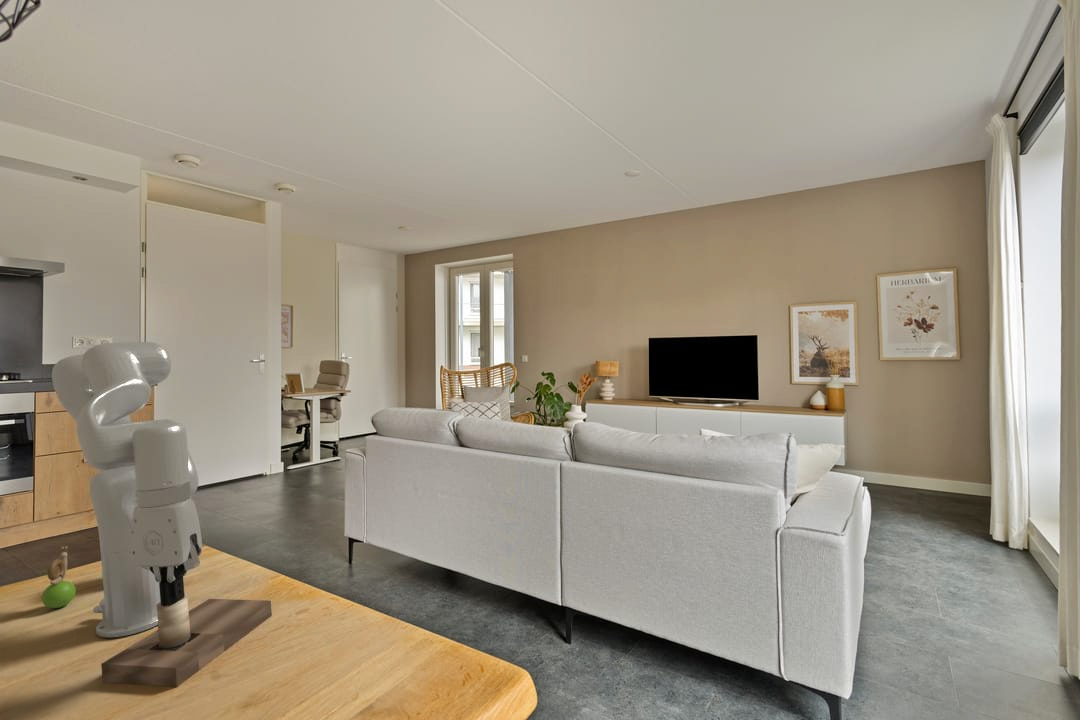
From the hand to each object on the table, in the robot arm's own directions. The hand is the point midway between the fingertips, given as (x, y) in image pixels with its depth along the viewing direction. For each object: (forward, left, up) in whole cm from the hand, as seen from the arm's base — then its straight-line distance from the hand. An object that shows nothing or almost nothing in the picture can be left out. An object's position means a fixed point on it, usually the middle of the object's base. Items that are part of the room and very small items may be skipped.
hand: (173, 601), depth 91 cm
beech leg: (0, 0, -10) cm, 10 cm away
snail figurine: (-45, +16, -10) cm, 49 cm away
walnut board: (0, +4, -10) cm, 11 cm away
